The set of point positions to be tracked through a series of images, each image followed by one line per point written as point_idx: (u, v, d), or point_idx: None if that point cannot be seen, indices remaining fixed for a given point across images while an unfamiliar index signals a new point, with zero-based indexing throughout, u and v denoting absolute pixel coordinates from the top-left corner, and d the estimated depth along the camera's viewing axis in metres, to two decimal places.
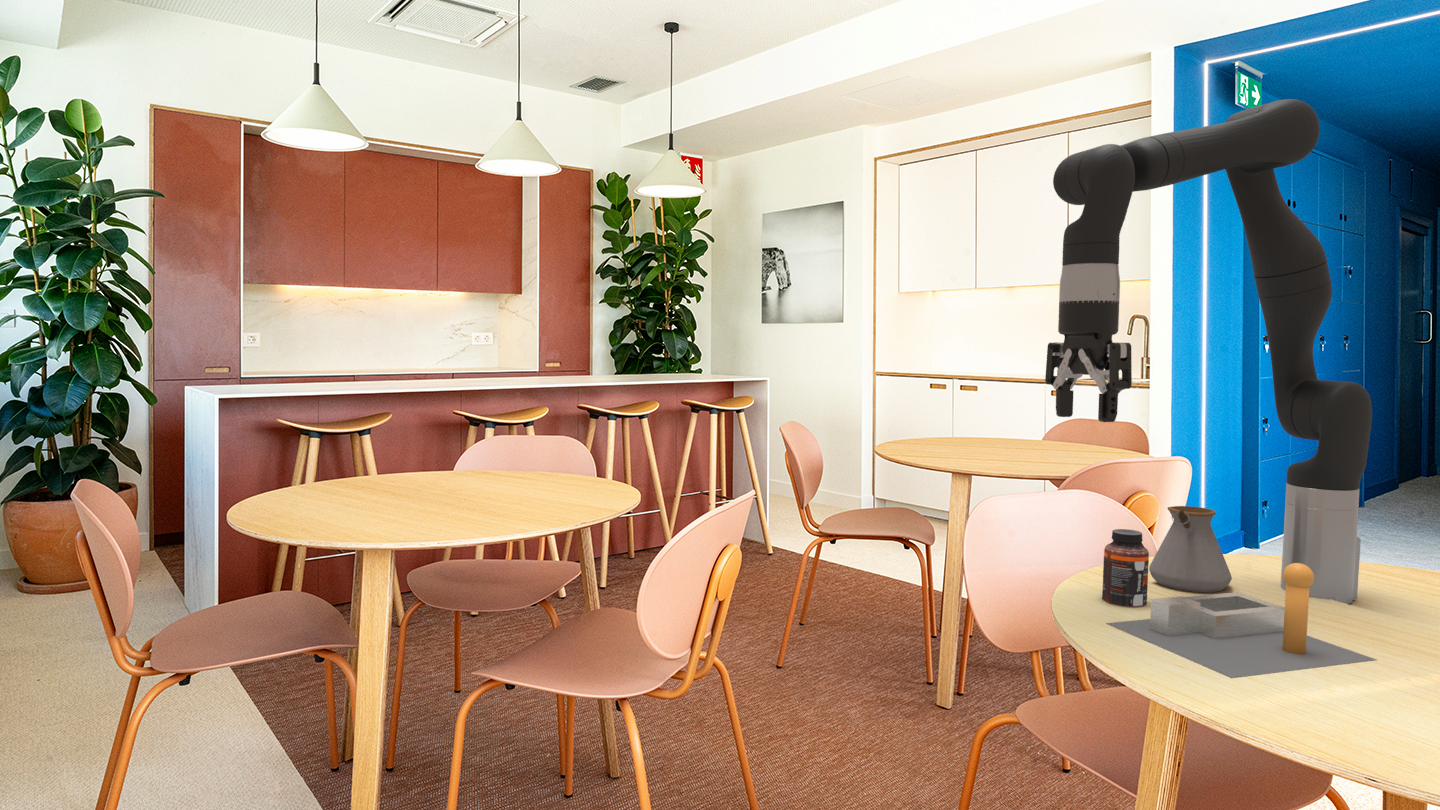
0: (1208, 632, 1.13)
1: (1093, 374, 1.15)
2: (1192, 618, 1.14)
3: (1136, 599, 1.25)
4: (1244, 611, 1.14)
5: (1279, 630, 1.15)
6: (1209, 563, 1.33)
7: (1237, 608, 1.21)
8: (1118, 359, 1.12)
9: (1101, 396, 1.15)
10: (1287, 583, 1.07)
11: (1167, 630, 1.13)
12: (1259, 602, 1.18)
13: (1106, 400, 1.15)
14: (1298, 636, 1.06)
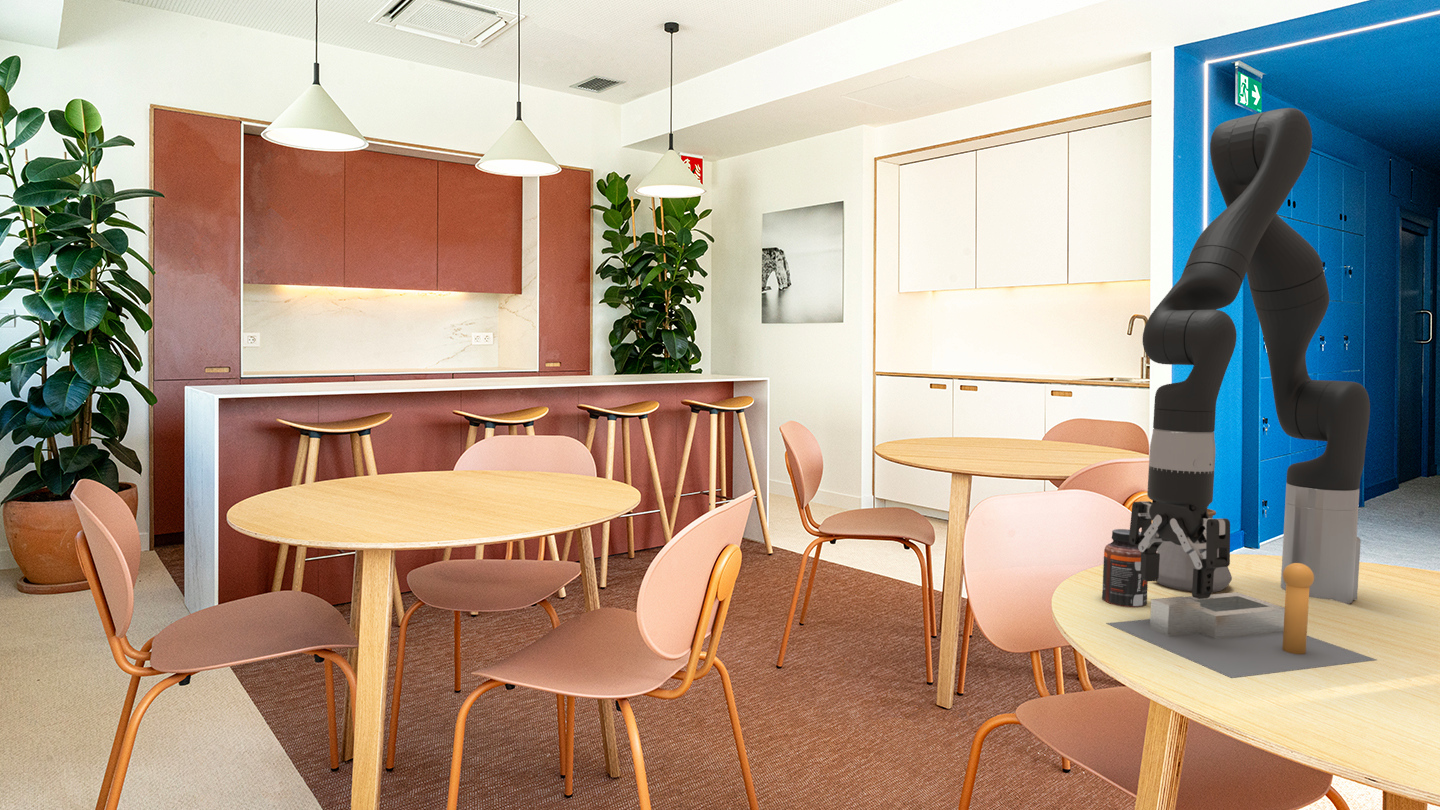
0: (1208, 632, 1.13)
1: (1187, 548, 1.10)
2: (1192, 618, 1.14)
3: (1136, 599, 1.25)
4: (1244, 611, 1.14)
5: (1279, 630, 1.15)
6: None
7: (1237, 608, 1.21)
8: (1217, 537, 1.07)
9: (1196, 572, 1.10)
10: (1287, 583, 1.07)
11: (1167, 630, 1.13)
12: (1259, 602, 1.18)
13: (1201, 576, 1.09)
14: (1298, 636, 1.06)
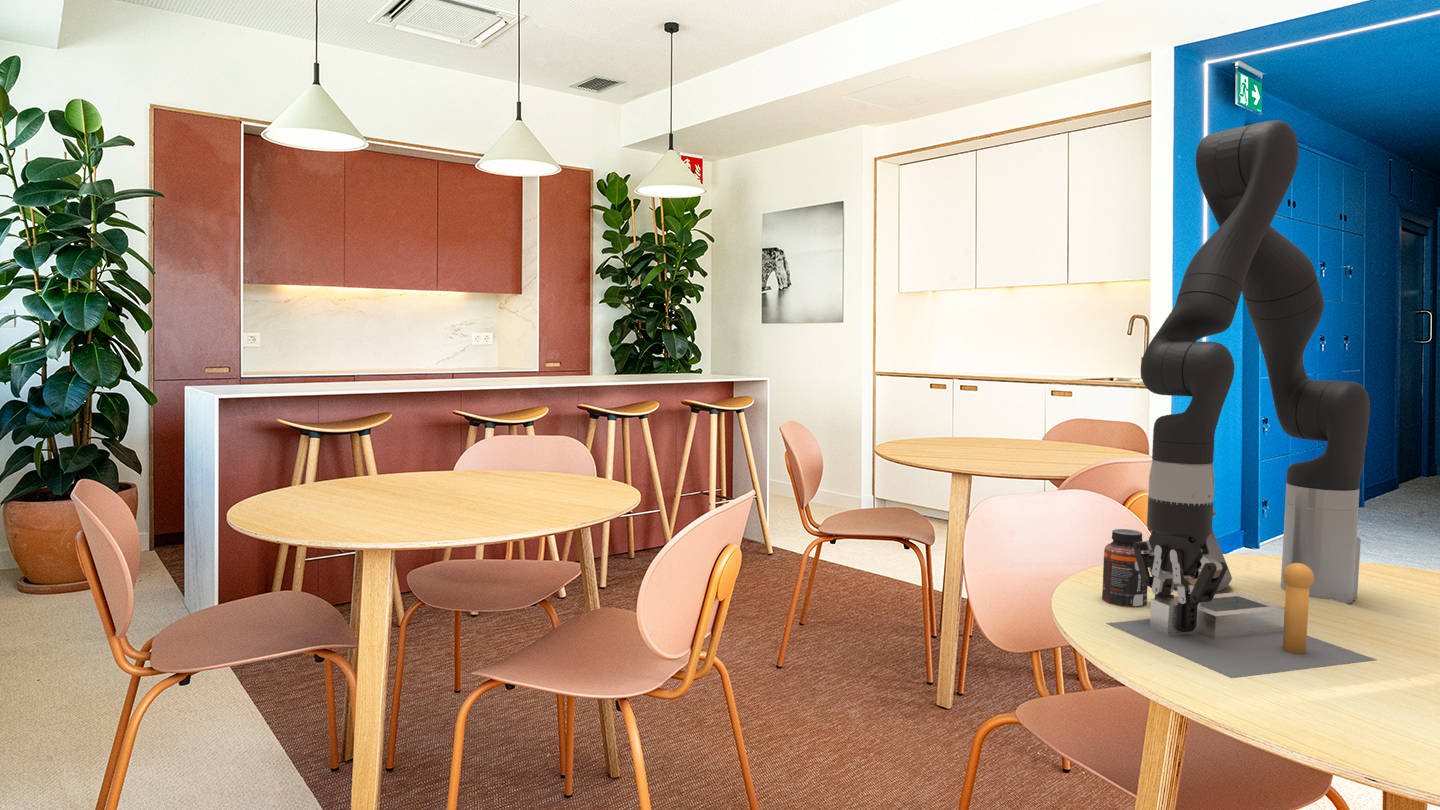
0: (1208, 632, 1.13)
1: (1177, 581, 1.12)
2: None
3: (1136, 599, 1.25)
4: (1244, 611, 1.14)
5: (1279, 630, 1.15)
6: None
7: (1237, 608, 1.21)
8: (1208, 581, 1.08)
9: (1180, 606, 1.13)
10: (1287, 583, 1.07)
11: (1167, 630, 1.13)
12: (1259, 602, 1.18)
13: (1185, 611, 1.12)
14: (1298, 636, 1.06)
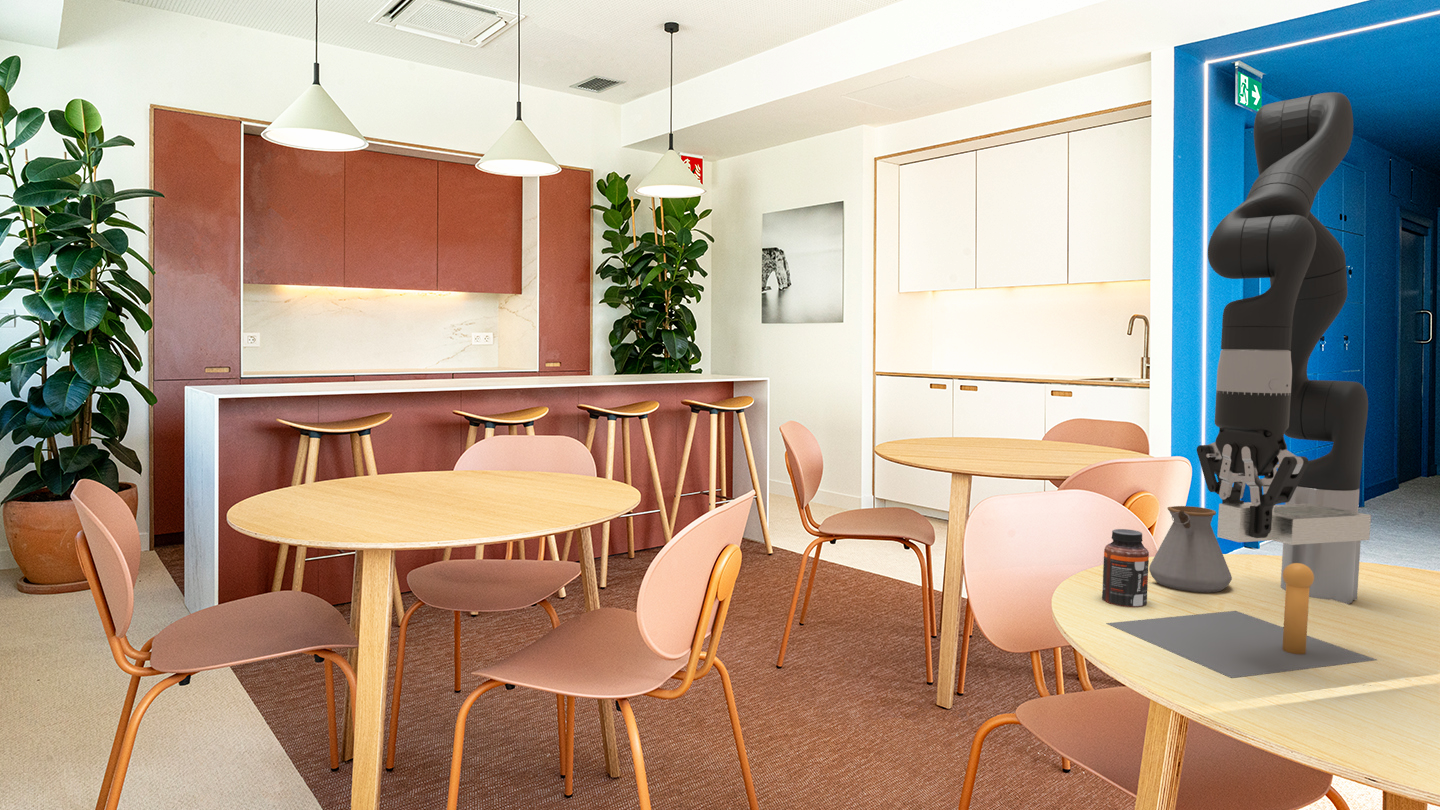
0: (1283, 538, 1.02)
1: (1251, 481, 1.02)
2: None
3: (1136, 599, 1.25)
4: (1322, 516, 1.03)
5: (1360, 538, 1.04)
6: (1209, 563, 1.33)
7: None
8: (1288, 477, 0.98)
9: (1253, 509, 1.02)
10: (1287, 583, 1.07)
11: (1238, 535, 1.02)
12: (1336, 510, 1.07)
13: (1258, 514, 1.02)
14: (1298, 636, 1.06)
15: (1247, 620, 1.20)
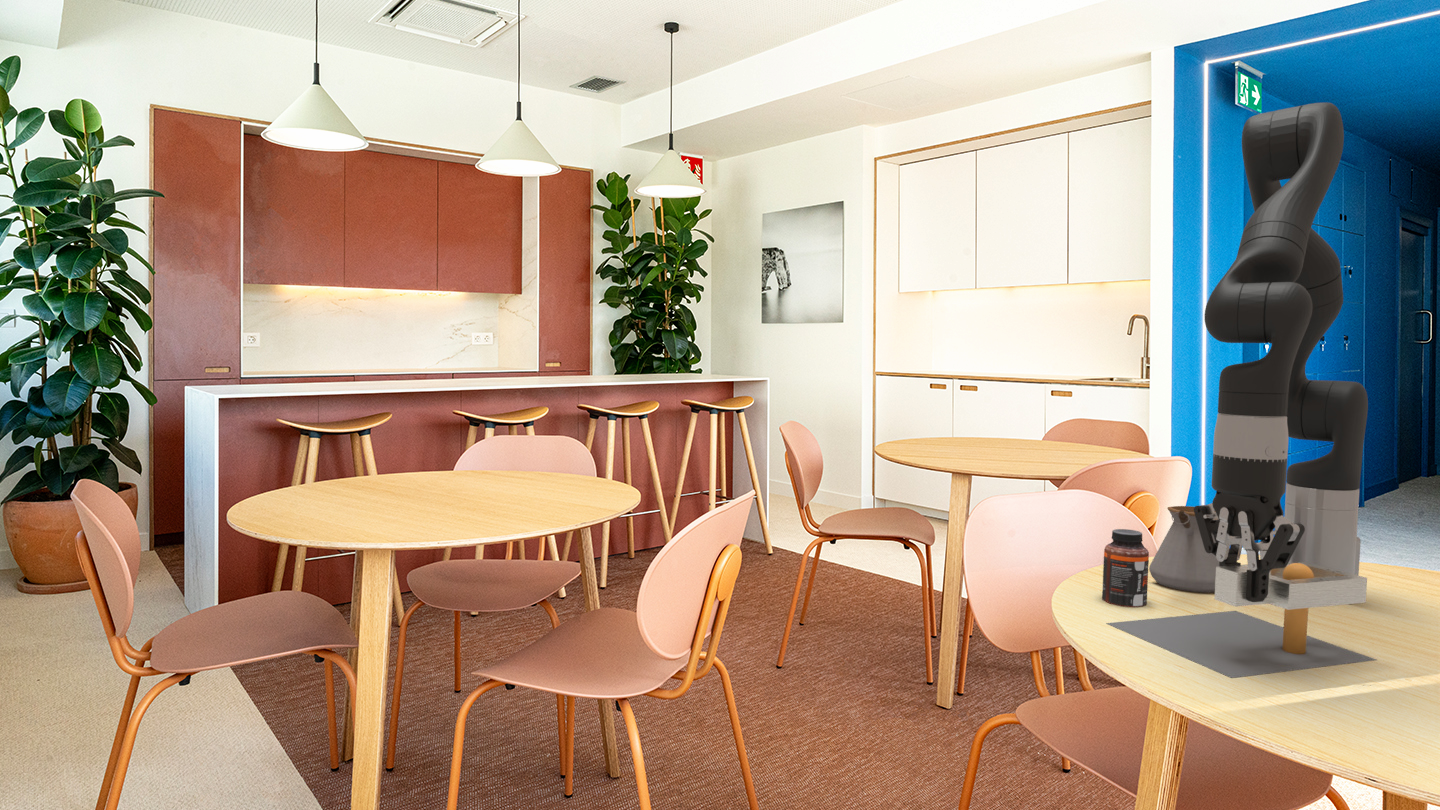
0: (1280, 602, 1.03)
1: (1247, 546, 1.02)
2: None
3: (1136, 599, 1.25)
4: (1319, 580, 1.04)
5: (1356, 601, 1.05)
6: (1209, 563, 1.33)
7: None
8: (1284, 544, 0.98)
9: (1250, 573, 1.02)
10: None
11: (1235, 600, 1.03)
12: (1332, 571, 1.08)
13: (1255, 578, 1.02)
14: (1298, 636, 1.06)
15: (1247, 620, 1.20)
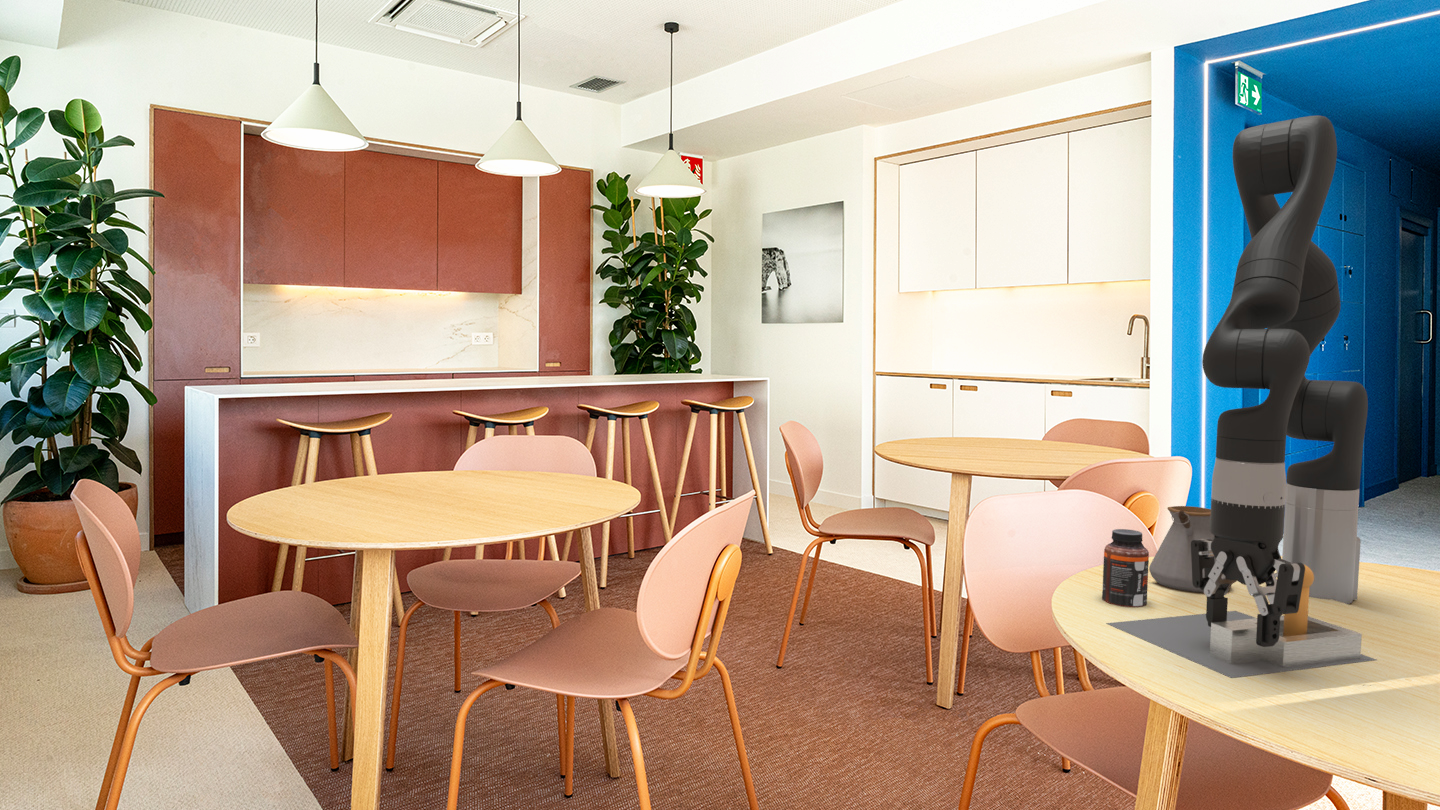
0: (1275, 659, 1.03)
1: (1253, 591, 1.01)
2: (1256, 644, 1.04)
3: (1136, 599, 1.25)
4: (1314, 636, 1.04)
5: (1351, 657, 1.05)
6: None
7: None
8: (1289, 584, 0.98)
9: (1260, 618, 1.01)
10: None
11: (1230, 657, 1.03)
12: (1327, 625, 1.08)
13: (1266, 623, 1.01)
14: None
15: None
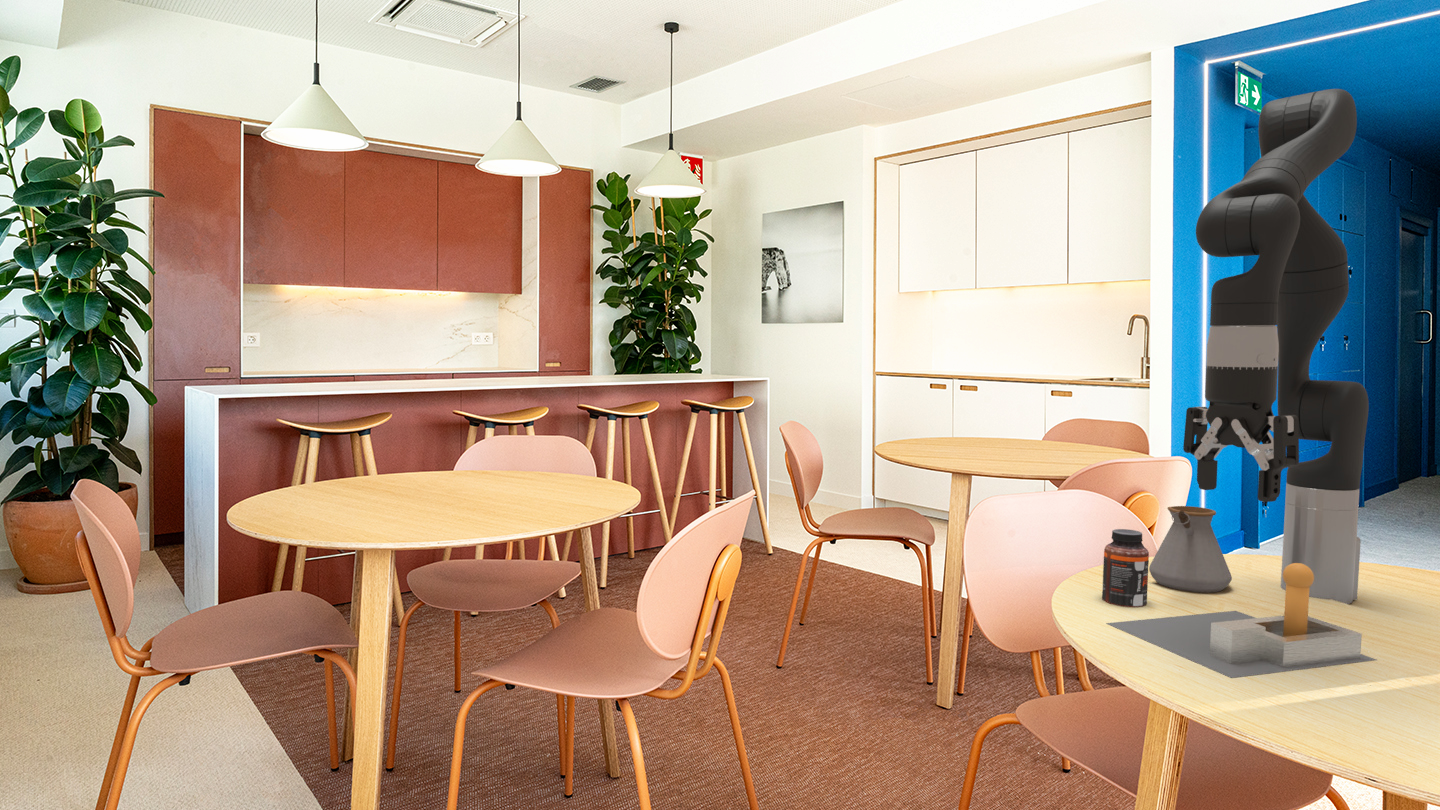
0: (1275, 659, 1.03)
1: (1252, 449, 1.04)
2: (1256, 644, 1.04)
3: (1136, 599, 1.25)
4: (1314, 636, 1.04)
5: (1351, 657, 1.05)
6: (1209, 563, 1.33)
7: None
8: (1285, 434, 1.01)
9: (1262, 473, 1.03)
10: (1287, 583, 1.07)
11: (1230, 657, 1.03)
12: (1327, 625, 1.08)
13: (1267, 478, 1.03)
14: None
15: None
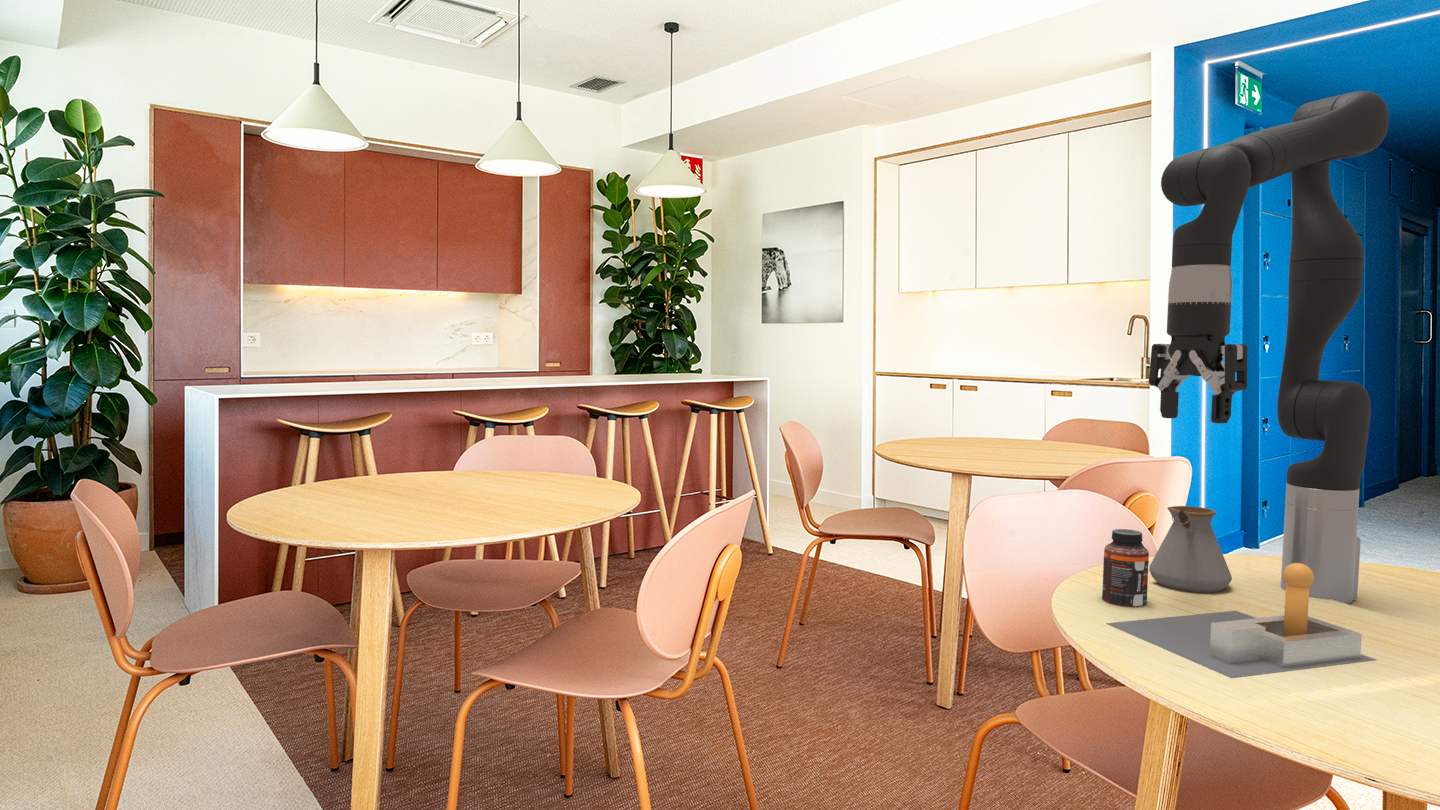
0: (1275, 659, 1.03)
1: (1206, 375, 1.15)
2: (1256, 644, 1.04)
3: (1136, 599, 1.25)
4: (1314, 636, 1.04)
5: (1351, 657, 1.05)
6: (1209, 563, 1.33)
7: None
8: (1234, 360, 1.12)
9: (1214, 397, 1.15)
10: (1287, 583, 1.07)
11: (1230, 657, 1.03)
12: (1327, 625, 1.08)
13: (1219, 402, 1.15)
14: None
15: None
